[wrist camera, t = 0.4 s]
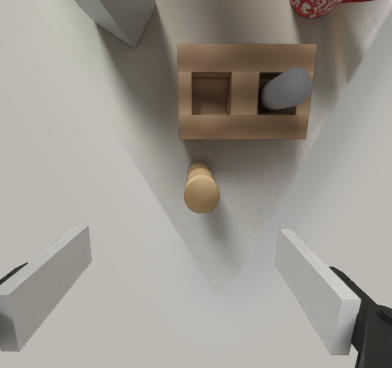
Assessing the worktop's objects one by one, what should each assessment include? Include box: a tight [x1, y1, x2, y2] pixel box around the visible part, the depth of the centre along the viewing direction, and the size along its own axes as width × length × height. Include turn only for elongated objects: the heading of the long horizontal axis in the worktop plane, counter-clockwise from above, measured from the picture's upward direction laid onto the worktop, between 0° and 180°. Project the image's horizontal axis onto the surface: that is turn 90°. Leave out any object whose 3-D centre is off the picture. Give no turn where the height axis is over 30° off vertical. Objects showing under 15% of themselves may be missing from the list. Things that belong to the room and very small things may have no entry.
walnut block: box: [177, 44, 317, 139], centre depth 32 cm, size 12×18×6 cm, turn 90°
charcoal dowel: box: [257, 68, 312, 112], centre depth 29 cm, size 4×4×9 cm
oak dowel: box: [184, 161, 220, 213], centre depth 31 cm, size 4×4×14 cm
